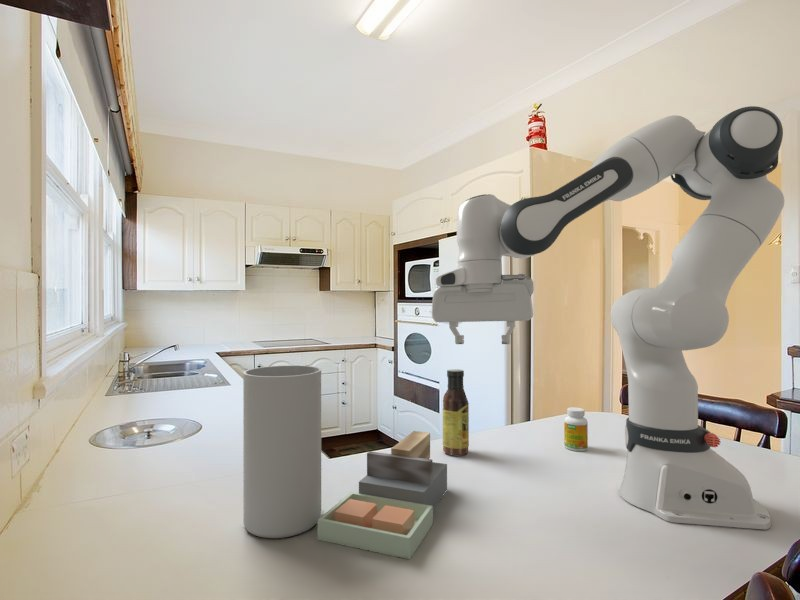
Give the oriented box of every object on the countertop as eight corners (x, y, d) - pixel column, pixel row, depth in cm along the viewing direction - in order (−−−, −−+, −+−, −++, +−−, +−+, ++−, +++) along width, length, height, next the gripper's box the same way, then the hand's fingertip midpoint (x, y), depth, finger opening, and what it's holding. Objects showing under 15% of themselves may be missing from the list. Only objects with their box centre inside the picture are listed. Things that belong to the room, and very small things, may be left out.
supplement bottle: (563, 450, 112) (563, 410, 112) (564, 443, 117) (564, 405, 117) (587, 452, 110) (587, 412, 110) (587, 446, 115) (587, 407, 115)
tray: (432, 524, 75) (432, 505, 75) (409, 559, 64) (409, 538, 64) (351, 509, 80) (351, 491, 80) (317, 539, 70) (317, 519, 70)
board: (447, 489, 88) (447, 464, 88) (424, 522, 75) (424, 492, 75) (389, 481, 93) (389, 456, 93) (358, 510, 80) (358, 481, 80)
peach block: (402, 524, 67) (402, 545, 67) (414, 510, 72) (414, 529, 72) (372, 518, 69) (372, 538, 69) (385, 505, 74) (385, 523, 74)
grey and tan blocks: (450, 460, 90) (450, 434, 90) (430, 485, 78) (430, 455, 78) (394, 452, 95) (394, 428, 95) (367, 475, 83) (366, 447, 83)
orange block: (363, 517, 70) (363, 536, 70) (377, 503, 74) (377, 522, 74) (334, 511, 72) (334, 530, 72) (350, 498, 76) (350, 516, 76)
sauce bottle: (468, 457, 106) (467, 372, 106) (441, 456, 108) (441, 371, 108) (469, 449, 113) (469, 368, 113) (444, 447, 114) (444, 368, 114)
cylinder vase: (240, 512, 79) (240, 367, 79) (312, 499, 84) (312, 363, 84) (247, 547, 68) (246, 379, 68) (329, 530, 73) (329, 373, 73)
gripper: (534, 274, 92) (536, 342, 92) (436, 279, 99) (439, 342, 99) (531, 272, 86) (534, 345, 86) (428, 278, 94) (430, 345, 94)
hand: (482, 344), depth 93 cm, fingers open, 8 cm apart
